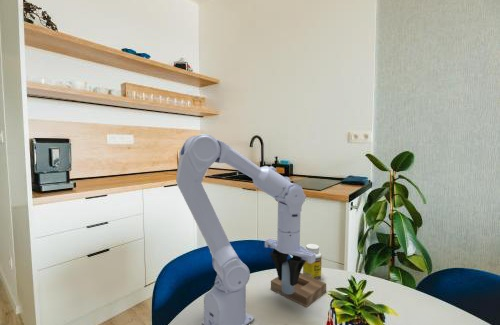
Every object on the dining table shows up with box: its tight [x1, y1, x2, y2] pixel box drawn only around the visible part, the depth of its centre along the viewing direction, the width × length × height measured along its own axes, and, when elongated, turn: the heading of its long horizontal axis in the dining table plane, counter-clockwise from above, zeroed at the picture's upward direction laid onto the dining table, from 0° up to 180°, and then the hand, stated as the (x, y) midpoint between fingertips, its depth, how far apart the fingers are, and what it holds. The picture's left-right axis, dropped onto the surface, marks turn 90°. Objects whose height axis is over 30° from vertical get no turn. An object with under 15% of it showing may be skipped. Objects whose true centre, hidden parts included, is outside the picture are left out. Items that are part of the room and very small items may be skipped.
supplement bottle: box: [302, 243, 323, 281], centre depth 80 cm, size 6×6×10 cm
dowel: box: [282, 262, 294, 294], centre depth 66 cm, size 3×3×7 cm
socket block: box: [270, 272, 327, 308], centre depth 73 cm, size 10×12×2 cm
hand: (287, 281), depth 66 cm, fingers closed on dowel, 3 cm apart
